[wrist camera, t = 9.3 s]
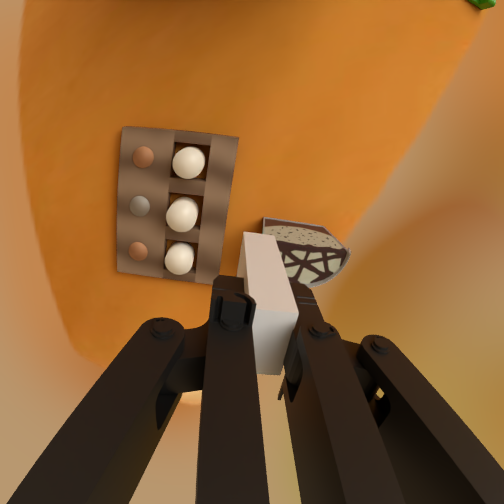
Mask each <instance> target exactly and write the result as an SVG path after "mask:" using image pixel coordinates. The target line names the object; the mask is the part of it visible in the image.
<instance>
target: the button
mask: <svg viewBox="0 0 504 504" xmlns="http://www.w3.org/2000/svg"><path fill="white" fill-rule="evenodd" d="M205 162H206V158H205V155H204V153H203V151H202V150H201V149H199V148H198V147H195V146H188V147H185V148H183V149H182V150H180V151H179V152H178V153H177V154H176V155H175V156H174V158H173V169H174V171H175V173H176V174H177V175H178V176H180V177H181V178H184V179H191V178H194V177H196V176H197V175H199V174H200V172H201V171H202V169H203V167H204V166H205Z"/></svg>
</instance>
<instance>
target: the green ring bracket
mask: <svg viewBox="0 0 504 504" xmlns="http://www.w3.org/2000/svg"><path fill="white" fill-rule="evenodd" d="M468 1H470V2H471V3H472V4H474V5H475V6H477V7H478V8H480V9H481V10H483V9H487V8H491V7H494V5H495V3H496V0H468Z"/></svg>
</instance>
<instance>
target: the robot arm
mask: <svg viewBox="0 0 504 504" xmlns="http://www.w3.org/2000/svg"><path fill="white" fill-rule="evenodd" d="M283 365H284V369H285V376H284V379H283V382H282V385H281V388H280V391H279V394H278V400H281V398H282V395H283V393H284V399H285V405H286V411H287V417H288V423H289V429H290V435H291V442H292V448H293V454H294V460H295V466H296V472H297V478H298V485H299V491H300V497H301V503H302V504H504V470H503V469H502V468H501V467H500V465H499V464H498V463H497V461H496V460H495V459H494V458H493V457H492V455H491V454H490V453H489V452H488V451H487V449H486V448H485V447H484V445H483V444H482V443H481V442H480V441H479V439H477V437H476V436H475V435H474V434H473V432H472V431H471V430H470V429H469V428H468V426H467V425H466V424H465V423H464V422H463V421H462V419H461V418H460V417H459V416H458V415H457V414H456V412H455V411H454V410H453V409H452V408H451V407H450V406H449V404H448V403H447V402H446V401H445V400H444V399H443V397H441V395H440V394H439V393H438V392H437V391H436V389H435V388H434V387H433V386H432V385H431V384H430V383H429V382H428V381H427V379H426V378H425V377H424V376H423V375H422V374H421V373H420V372H419V370H418V369H417V368H416V367H415V366H414V365H413V364H412V363H411V362H410V360H409V359H408V358H407V357H406V356H405V355H404V354H403V353H402V352H401V351H400V350H399V348H398V347H397V346H396V345H395V344H394V343H393V342H391V341H390V340H389V339H387V338H385V337H383V336H379V335H368V336H365V337H364V338H363V340H362V341H361V344H357V343H353V342H349V341H345V340H342V339H341V337H340V335H339V333H338V331H337V330H336V329H335V328H334V327H333V326H331V325H330V324H329V323H326V322H324V320H323V317H322V314H321V312H320V310H319V307H318V305H317V302H316V300H315V298H314V295H313V293H312V290H311V289H309V288H308V287H307V286H306V285H305V284H302V283H293V282H289V280H288V277H287V274H286V270H285V267H284V264H283V261H282V258H281V255H280V252H279V249H278V245H277V242H276V239H275V236H274V235H266V234H259V233H252V232H244V233H243V239H242V245H241V251H240V258H239V264H238V270H237V276H236V277H233V276H225V275H218V276H217V277H216V278H215V279H214V280H213V287H212V295H211V304H210V313H209V319H208V321H207V322H206V323H205V324H204V325H202V326H200V327H197V328H193V329H184V327H183V326H182V325H181V324H180V323H179V322H177V321H175V320H173V319H169V318H164V317H161V318H153V319H150V320H147V321H146V322H145V323H143V324H142V325H141V327H140V328H139V329H138V330H137V331H136V333H135V334H134V335H133V336H132V338H131V339H130V340H129V341H128V342H127V344H126V345H125V346H124V347H123V349H122V350H121V351H120V352H119V354H118V355H117V356H116V357H115V359H114V360H113V361H112V362H111V364H110V365H109V366H108V367H107V369H106V370H105V371H104V373H103V374H102V375H101V376H100V378H99V379H98V380H97V381H96V383H95V384H94V385H93V387H92V388H91V389H90V390H89V392H88V393H87V394H86V396H85V397H84V398H83V400H82V401H81V402H80V403H79V405H78V406H77V407H76V409H75V410H74V411H73V412H72V414H71V415H70V417H69V418H68V419H67V420H66V422H65V423H64V424H63V426H62V427H61V428H60V430H59V431H58V433H57V434H56V435H55V437H54V438H53V439H52V441H51V442H50V443H49V445H48V446H47V447H46V449H45V450H44V451H43V453H42V454H41V455H40V457H39V458H38V460H37V461H36V462H35V464H34V465H33V467H32V468H31V469H30V471H29V472H28V474H27V475H26V476H25V478H24V479H23V481H22V482H21V484H20V485H19V486H18V488H17V489H16V491H15V492H14V494H13V495H12V497H11V498H10V499H9V501H8V502H7V504H129V501H130V500H131V498H132V496H133V494H134V492H135V490H136V488H137V486H138V483H139V482H140V480H141V477H142V475H143V474H144V471H145V469H146V467H147V465H148V463H149V461H150V459H151V457H152V455H153V453H154V451H155V449H156V447H157V445H158V443H159V441H160V439H161V437H162V435H163V433H164V431H165V429H166V427H167V425H168V423H169V421H170V419H171V417H172V415H173V413H174V411H175V409H176V406H177V404H178V403H179V401H180V398H181V396H182V393H183V392H191V391H198V390H202V399H201V413H200V427H199V443H198V460H197V478H196V501H195V504H270V503H269V493H268V483H267V475H266V464H265V455H264V444H263V435H262V424H261V414H260V404H259V394H258V383H257V374H267V375H280V374H281V371H282V368H283ZM379 388H381V390H382V391H383V392H384V395H383V397H382V398H379V397H378V396H377V394H376V393H377V391H378V389H379Z"/></svg>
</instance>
